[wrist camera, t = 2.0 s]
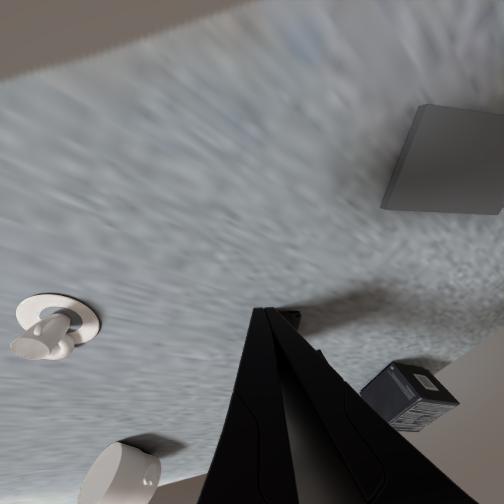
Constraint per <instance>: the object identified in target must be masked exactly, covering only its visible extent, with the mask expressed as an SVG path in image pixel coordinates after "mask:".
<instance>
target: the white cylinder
mask: <svg viewBox="0 0 504 504" xmlns="http://www.w3.org/2000/svg"><path fill="white" fill-rule="evenodd" d="M160 475H161V463H160V460H159V459H158V457H156V456H153V455H150V454H146V453H143V452H142V451H141V450H140V449H138V448H135V447H132V446H129V445H126V444H122V443H119V442H115V443H112V444H111V445H109V446H108V447H107V448H106V449H104V450H103V452H102V453H101V454H100V455H99V456H98V457H97V459H96V460H95V462H94V463H93V465H92V466H91V468H90V469H89V471H88V473H87V475H86V477H85V479H84V481H83V484H82V486H81V489H80V492H79V496H78V503H77V504H147V503H148V502H149V501H150V499H151V497H152V496H153V494H154V492H155V490H156V488H157V486H158V483H159V480H160Z"/></svg>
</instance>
